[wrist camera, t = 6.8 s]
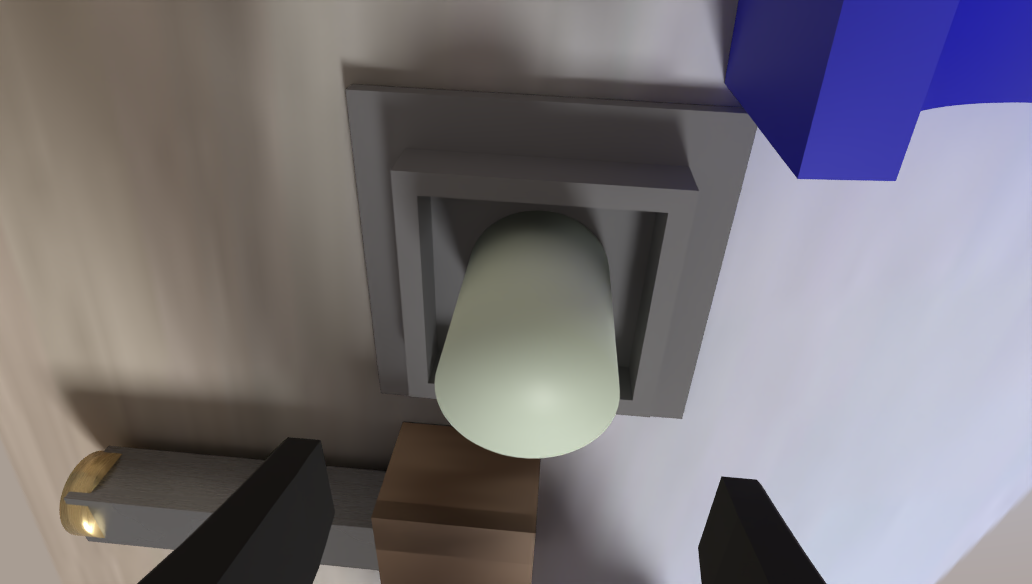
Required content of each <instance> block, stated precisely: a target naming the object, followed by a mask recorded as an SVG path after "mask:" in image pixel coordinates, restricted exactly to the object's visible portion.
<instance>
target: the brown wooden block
mask: <svg viewBox="0 0 1032 584" xmlns="http://www.w3.org/2000/svg"><path fill="white" fill-rule="evenodd" d="M539 474H540V458H518V457H512V456H507V455H503V454H499V453H495V452H493V451H490V450H487V449H485V448H483V447H481V446H479V445H477V444H475V443H473V442H472V441H470V440H468V439H467V438H466V437H464V436H463V435H462V434H460V433H459V432H458V431H457V430H456V429H455V428H454V427H452V426H441V425H430V424H418V423H407V422H403V423H402V426H401V429H400V432H399V435H398V438H397V441H396V444H395V447H394V450H393V453H392V456H391V459H390V462H389V465H388V468H387V471H386V474H385V477H384V480H383V483H382V486H381V489H380V492H379V495H378V498H377V501H376V504H375V507H374V510H373V513H372V516H371V520H372V527H373V534H374V540H375V547H376V553H377V560H378V567H379V573H380V580H381V584H531V581H532V569H533V558H534V546H535V535H536V520H537V504H538V489H539Z"/></svg>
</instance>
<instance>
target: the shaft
mask: <svg viewBox="0 0 1032 584" xmlns="http://www.w3.org/2000/svg"><path fill="white" fill-rule="evenodd" d="M264 461H265V460H257V459H246V458H235V457H224V456H214V455H203V454H192V453H181V452H170V451H159V450H149V449H138V448H127V447H116V446H108V447H107V448H106V449H105V451H96V452H93V453H91V454H89V455H88V456H86V457H85V458H84V459H83V460H82V461H81V462H80V463H79V464H78V465H77V466H76V467H75V468H74V470H73V471H72V473H71V474H70V476H69V478H68V479H67V482H66V484H65V486H64V489H63V492H62V495H61V500H60V519H61V523H62V525H63V527H64V528H65V530H66V531H67V532H68V533H70V534H73V535H79V536H86V538H87V540H88V541H93V542H103V543H113V544H123V545H133V546H143V547H153V548H163V549H172V550H175V549H176V548H177V547H178V546H179V545H180V544H181V543H183V542H184V541H185V540H186V539H187V538H188V537H189V536H190V535H191V534H192V533H193V532H194V531H195V530H196V529H197V528H198V527H199V526H200V525H201V524H202V523H203V522H204V521H205V520H206V519H207V518H208V517H209V516H210V515H211V514H213V513H214V512H215V511H216V510H217V509H218V508H219V507H220V506H221V505H222V504H223V503H224V502H225V501H226V500H227V499H228V498H229V497H230V496H231V495H232V494H233V493H234V492H235V491H236V490H237V489H238V488H239V487H240V486H241V485H242V484H243V483H244V481H245V480H246V479H247V478H248V477H249V476H250V475H251V474H252V473H253V472H254V471H255V470H256V469H257V468H258V467H259V466H260V465H261V464H262V463H263V462H264ZM326 469H327V474H328V479H329V484H330V489H331V494H332V499H333V504H334V509H335V515H334V518H333V522H332V525H331V529H330V532H329V536H328V539H327V543H326V546H325V549H324V553H323V556H322V559H321V563H320V564H321V565H331V566H341V567H351V568H361V569H371V570H379V567H378V560H377V553H376V547H375V540H374V534H373V527H372V520H371V516H372V513H373V510H374V507H375V504H376V501H377V498H378V495H379V492H380V489H381V486H382V483H383V480H384V477H385V474H386V471H376V470H365V469H354V468H344V467H333V466H326Z"/></svg>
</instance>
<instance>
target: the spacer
mask: <svg viewBox="0 0 1032 584" xmlns="http://www.w3.org/2000/svg"><path fill="white" fill-rule="evenodd" d="M435 393H436V398H437V401H438V404H439V406H440V409H441V411H442V412H443V414H444V416H445V417H446V419H447V420H448V421H449V423H450V424H451V425H452V426H453V427H454V428H455V429H456V430H457V431H458V432H459V433H460V434H462V435H463V436H464V437H466V438H467V439H468V440H470V441H472V442H473V443H475V444H477V445H479V446H481V447H483V448H485V449H487V450H490V451H493V452H495V453H499V454H503V455H507V456H512V457H518V458H548V457H554V456H560V455H564V454H567V453H570V452H573V451H575V450H578V449H580V448H582V447H584V446H586V445H588V444H589V443H591V442H592V441H594V440H595V439H596V438H598V437H599V436H600V435H601V434H602V433H603V432H604V431H605V430H606V429H607V427H608V426H609V425H610V424H611V422H612V420H613V418H614V416H615V414H616V411H617V409H618V405H619V399H620V387H619V375H618V364H617V352H616V341H615V329H614V317H613V306H612V294H611V283H610V271H609V263H608V259H607V256H606V253H605V250H604V248H603V246H602V244H601V243H600V241H599V240H598V239H597V237H596V236H595V235H594V234H593V233H592V232H591V231H590V230H589V229H588V228H587V227H585V226H584V225H583V224H581V223H580V222H578V221H576V220H575V219H573V218H570V217H568V216H566V215H563V214H559V213H556V212H551V211H541V210H533V211H524V212H518V213H515V214H512V215H509V216H506V217H504V218H502V219H500V220H498V221H497V222H495V223H494V224H492V225H491V226H490V227H489V228H487V229H486V230H485V231H484V232H483V234H482V235H481V236H480V237H479V239H478V240H477V242H476V243H475V245H474V247H473V250H472V253H471V256H470V259H469V263H468V266H467V269H466V273H465V276H464V280H463V283H462V286H461V290H460V293H459V296H458V300H457V303H456V307H455V310H454V313H453V317H452V320H451V323H450V327H449V330H448V334H447V337H446V340H445V344H444V347H443V351H442V354H441V357H440V361H439V364H438V367H437V371H436V375H435Z"/></svg>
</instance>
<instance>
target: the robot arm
mask: <svg viewBox="0 0 1032 584" xmlns="http://www.w3.org/2000/svg"><path fill="white" fill-rule="evenodd" d="M334 515H335V509H334V504H333V499H332V494H331V489H330V484H329V479H328V474H327V469H326V464H325V459H324V454H323V449H322V444H321V440H311V439H300V438H289V437H288V438H287V439H286V440H284V441H283V442H282V443H281V444H280V445H279V446H278V447H277V448H276V449H275V450H274V451H273V452H272V453H271V455H270V456H269V457H268V458H267V459H266V460H265V461H264V462H263V463H262V464H261V465H260V466H259V467H258V468H257V469H256V470H255V471H254V472H253V473H252V474H251V475H250V476H249V477H248V478H247V479H246V480H245V481H244V483H243V484H242V485H241V486H240V487H239V488H238V489H237V490H236V491H235V492H234V493H233V494H232V495H231V496H230V497H229V498H228V499H227V500H226V501H225V502H224V503H223V504H222V505H221V506H220V507H219V508H218V509H217V510H216V511H215V512H214V513H213V514H211V515H210V516H209V517H208V518H207V519H206V520H205V521H204V522H203V523H202V524H201V525H200V526H199V527H198V528H197V529H196V530H195V531H194V532H193V533H192V534H191V535H190V536H189V537H188V538H187V539H186V540H185V541H184V542H183V543H181V544H180V545H179V546H178V547H177V548H176V549H175V550H174V551H173V552H172V553H171V554H169V555H168V556H167V557H166V558H165V559H164V560H163V561H162V562H161V563H159V564H158V565H157V566H156V567H155V568H154V569H153V570H152V571H151V572H149V573H148V574H147V575H146V576H145V577H144V578H143V579H142V580H141V581H139V582H138V583H137V584H313V581H314V579H315V576H316V574H317V571H318V569H319V566H320V563H321V559H322V556H323V553H324V549H325V546H326V543H327V539H328V536H329V532H330V529H331V525H332V522H333V518H334ZM698 551H699V561H700V572H701V581H702V584H826V582H825V581H824V580H823V578H822V577H821V575H820V574H819V572H818V571H817V570H816V568H815V567H814V565H813V564H812V562H811V561H810V559H809V558H808V556H807V555H806V553H805V552H804V550H803V549H802V547H801V546H800V544H799V543H798V541H797V540H796V538H795V537H794V535H793V534H792V532H791V531H790V529H789V528H788V526H787V525H786V523H785V521H784V520H783V518H782V517H781V515H780V514H779V512H778V511H777V509H776V507H775V506H774V504H773V503H772V501H771V499H770V498H769V496H768V495H767V493H766V492H765V490H764V488H763V487H762V485H761V484H760V483H759V482H758V481H757V480H754V479H743V478H732V477H721V480H720V483H719V486H718V489H717V492H716V495H715V498H714V501H713V504H712V507H711V510H710V513H709V516H708V519H707V522H706V525H705V528H704V531H703V534H702V537H701V540H700V543H699V546H698Z"/></svg>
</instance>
